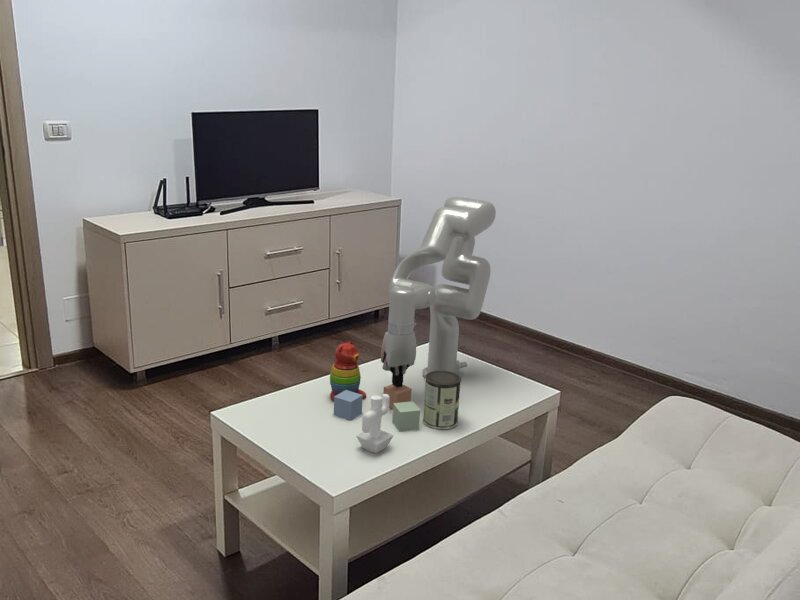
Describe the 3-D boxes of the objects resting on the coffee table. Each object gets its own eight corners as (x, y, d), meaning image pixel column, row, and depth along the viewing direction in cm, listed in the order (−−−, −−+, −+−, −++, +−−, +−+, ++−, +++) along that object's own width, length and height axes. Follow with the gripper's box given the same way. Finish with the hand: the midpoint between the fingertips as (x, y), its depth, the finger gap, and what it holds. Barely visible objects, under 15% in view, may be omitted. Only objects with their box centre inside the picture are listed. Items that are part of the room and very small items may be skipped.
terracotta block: (396, 399, 230) (397, 382, 228) (410, 406, 226) (411, 388, 224) (382, 405, 226) (383, 387, 224) (396, 412, 222) (397, 393, 220)
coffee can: (439, 410, 224) (442, 367, 220) (464, 423, 217) (468, 378, 213) (415, 420, 217) (417, 375, 213) (440, 433, 210) (444, 387, 206)
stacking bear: (346, 408, 222) (348, 353, 217) (321, 398, 228) (322, 344, 222) (369, 397, 230) (371, 343, 225) (344, 387, 236) (346, 335, 231)
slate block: (345, 408, 222) (345, 389, 221) (361, 413, 220) (362, 395, 218) (333, 415, 217) (334, 396, 216) (350, 421, 215) (351, 402, 213)
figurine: (352, 449, 199) (354, 398, 194) (375, 437, 206) (377, 387, 201) (373, 458, 194) (376, 406, 190) (395, 445, 202) (398, 395, 197)
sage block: (411, 419, 217) (412, 401, 215) (418, 429, 212) (420, 410, 210) (392, 422, 215) (393, 403, 213) (399, 431, 210) (400, 412, 208)
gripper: (414, 321, 225) (410, 377, 230) (372, 327, 217) (369, 385, 222) (428, 328, 219) (424, 385, 225) (386, 335, 211) (383, 395, 216)
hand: (397, 385), depth 223 cm, fingers closed
